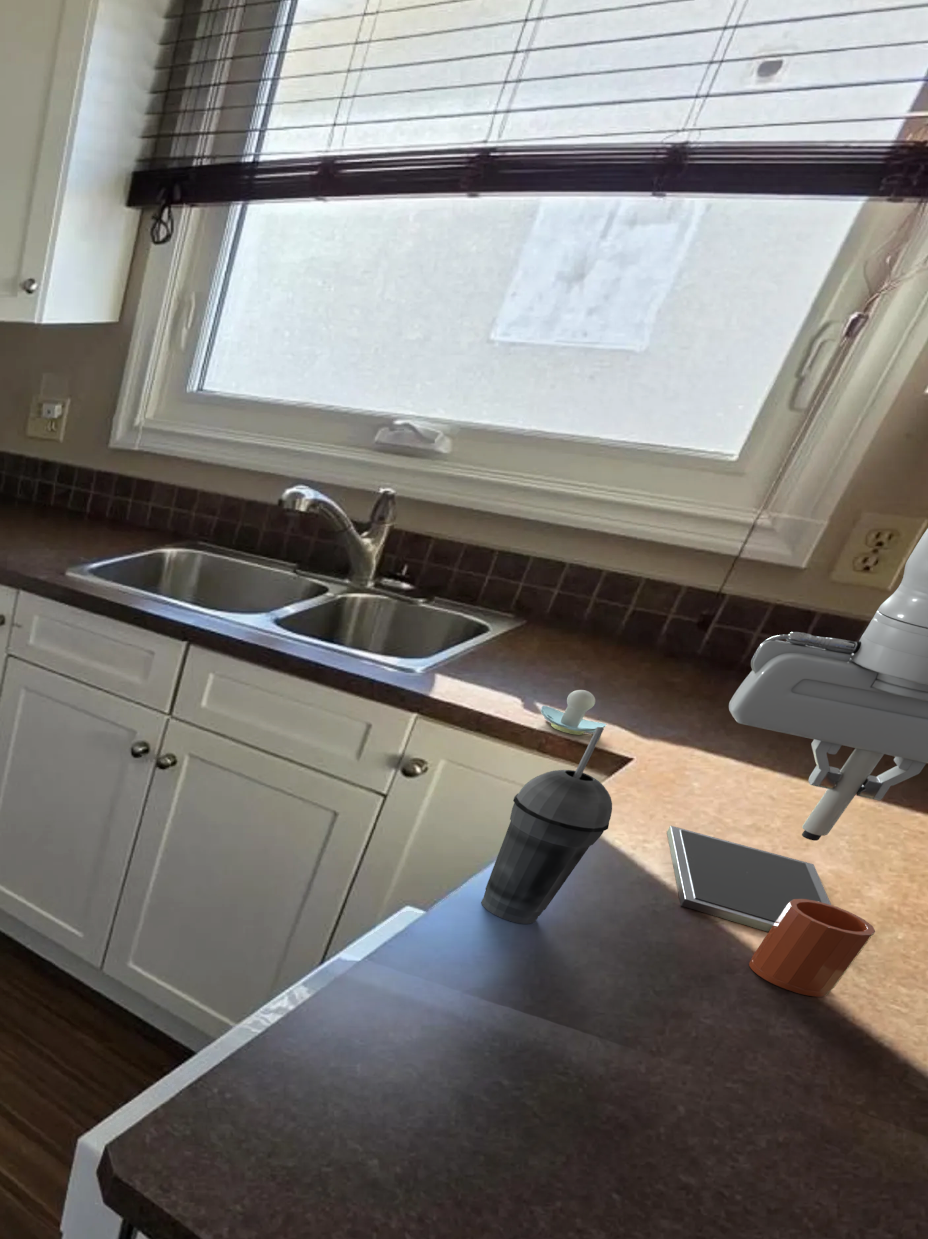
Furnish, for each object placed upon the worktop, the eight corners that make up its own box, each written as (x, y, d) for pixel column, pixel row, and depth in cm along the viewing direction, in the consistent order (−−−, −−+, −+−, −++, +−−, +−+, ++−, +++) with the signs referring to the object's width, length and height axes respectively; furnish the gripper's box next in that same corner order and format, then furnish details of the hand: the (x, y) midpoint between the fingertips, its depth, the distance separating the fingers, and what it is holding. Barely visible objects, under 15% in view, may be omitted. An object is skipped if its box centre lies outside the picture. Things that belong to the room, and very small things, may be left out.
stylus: (821, 836, 99) (909, 711, 92) (823, 844, 98) (912, 719, 91) (796, 829, 100) (880, 705, 93) (798, 838, 99) (883, 713, 92)
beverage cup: (466, 914, 101) (557, 734, 92) (463, 881, 106) (548, 708, 97) (557, 941, 97) (661, 757, 88) (549, 906, 103) (647, 729, 94)
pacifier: (543, 716, 149) (530, 723, 145) (563, 676, 146) (550, 683, 143) (606, 735, 143) (593, 743, 140) (627, 694, 141) (615, 701, 137)
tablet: (809, 870, 112) (814, 863, 111) (844, 955, 98) (850, 947, 97) (666, 831, 118) (670, 824, 118) (680, 905, 104) (685, 897, 104)
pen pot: (823, 976, 95) (867, 915, 91) (834, 1005, 91) (881, 942, 88) (745, 951, 97) (785, 891, 94) (752, 979, 94) (794, 917, 90)
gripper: (774, 635, 94) (700, 768, 100) (1121, 695, 82) (1013, 841, 89) (764, 619, 98) (694, 747, 104) (1093, 674, 87) (991, 814, 93)
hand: (843, 791), depth 96 cm, fingers closed on stylus, 2 cm apart
